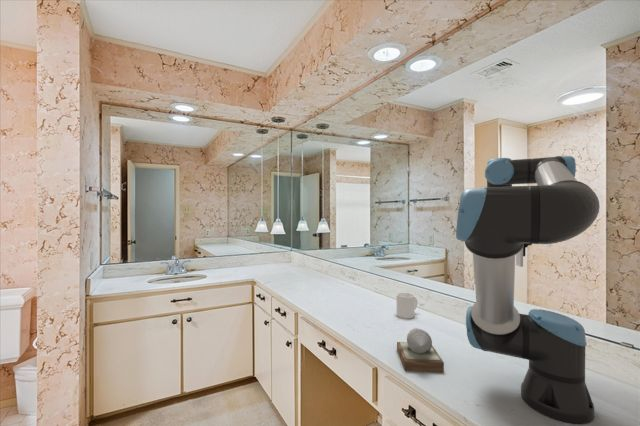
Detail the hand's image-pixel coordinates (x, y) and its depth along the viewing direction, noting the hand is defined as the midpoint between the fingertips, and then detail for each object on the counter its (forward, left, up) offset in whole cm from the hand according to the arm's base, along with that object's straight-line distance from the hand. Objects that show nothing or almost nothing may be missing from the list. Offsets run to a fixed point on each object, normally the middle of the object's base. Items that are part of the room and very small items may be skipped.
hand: (498, 265), depth 104 cm
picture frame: (-4, +28, -32) cm, 42 cm away
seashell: (-2, +28, -29) cm, 40 cm away
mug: (+40, +22, -32) cm, 56 cm away
